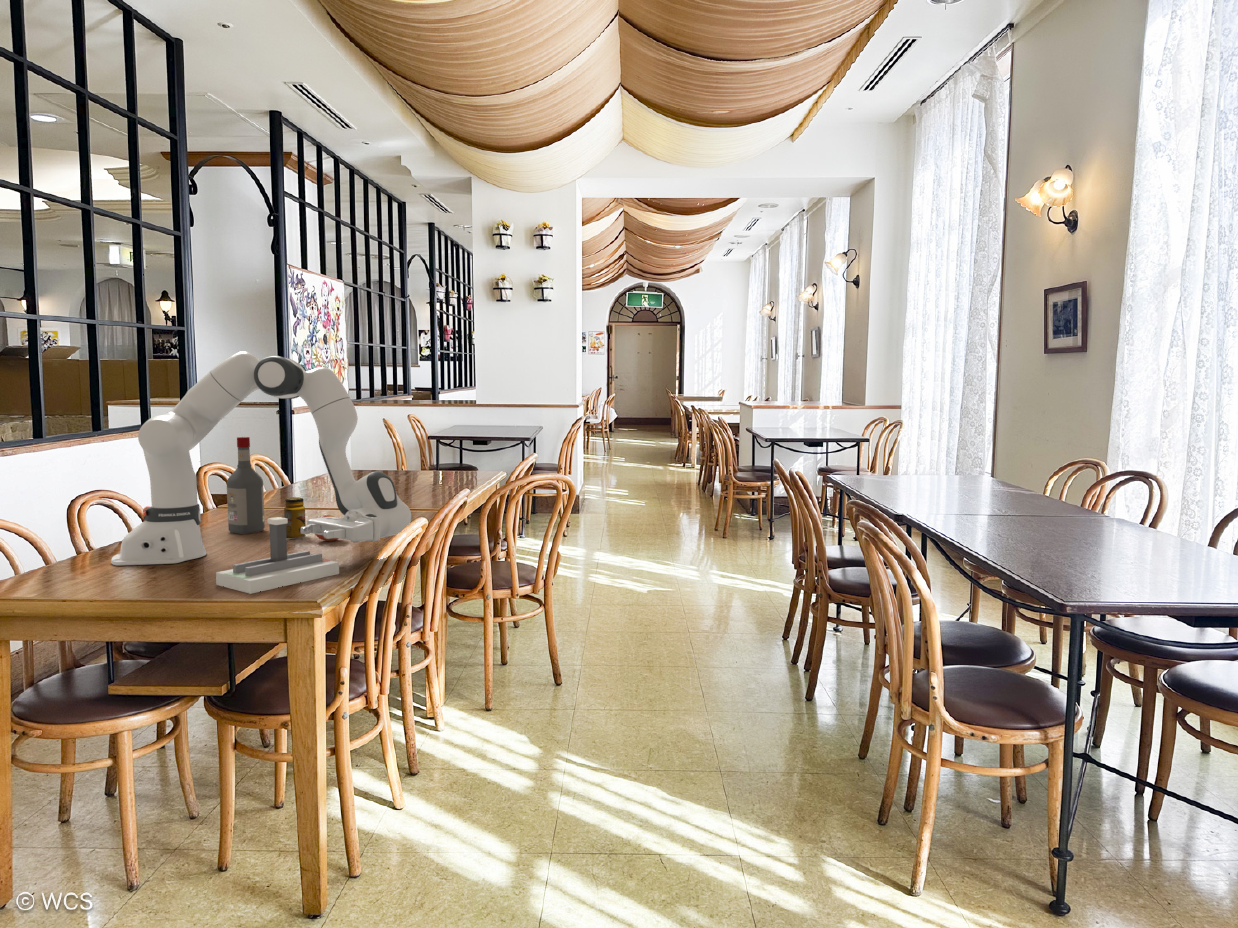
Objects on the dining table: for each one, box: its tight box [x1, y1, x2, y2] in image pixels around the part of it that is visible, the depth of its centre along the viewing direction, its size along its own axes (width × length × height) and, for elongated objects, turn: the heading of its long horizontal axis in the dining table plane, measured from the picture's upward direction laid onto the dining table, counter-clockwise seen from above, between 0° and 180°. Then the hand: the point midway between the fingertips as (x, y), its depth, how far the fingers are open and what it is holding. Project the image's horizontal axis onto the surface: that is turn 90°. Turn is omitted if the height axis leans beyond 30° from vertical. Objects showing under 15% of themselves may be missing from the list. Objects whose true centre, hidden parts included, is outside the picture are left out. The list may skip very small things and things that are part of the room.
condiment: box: [283, 496, 311, 540], centre depth 255 cm, size 7×8×12 cm
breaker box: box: [215, 550, 340, 595], centre depth 202 cm, size 24×14×5 cm, turn 146°
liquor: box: [226, 436, 266, 535], centre depth 262 cm, size 9×9×30 cm
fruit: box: [314, 514, 339, 542], centre depth 249 cm, size 8×8×8 cm
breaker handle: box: [267, 516, 288, 563], centre depth 201 cm, size 3×4×12 cm
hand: (313, 533), depth 210 cm, fingers open, 8 cm apart
